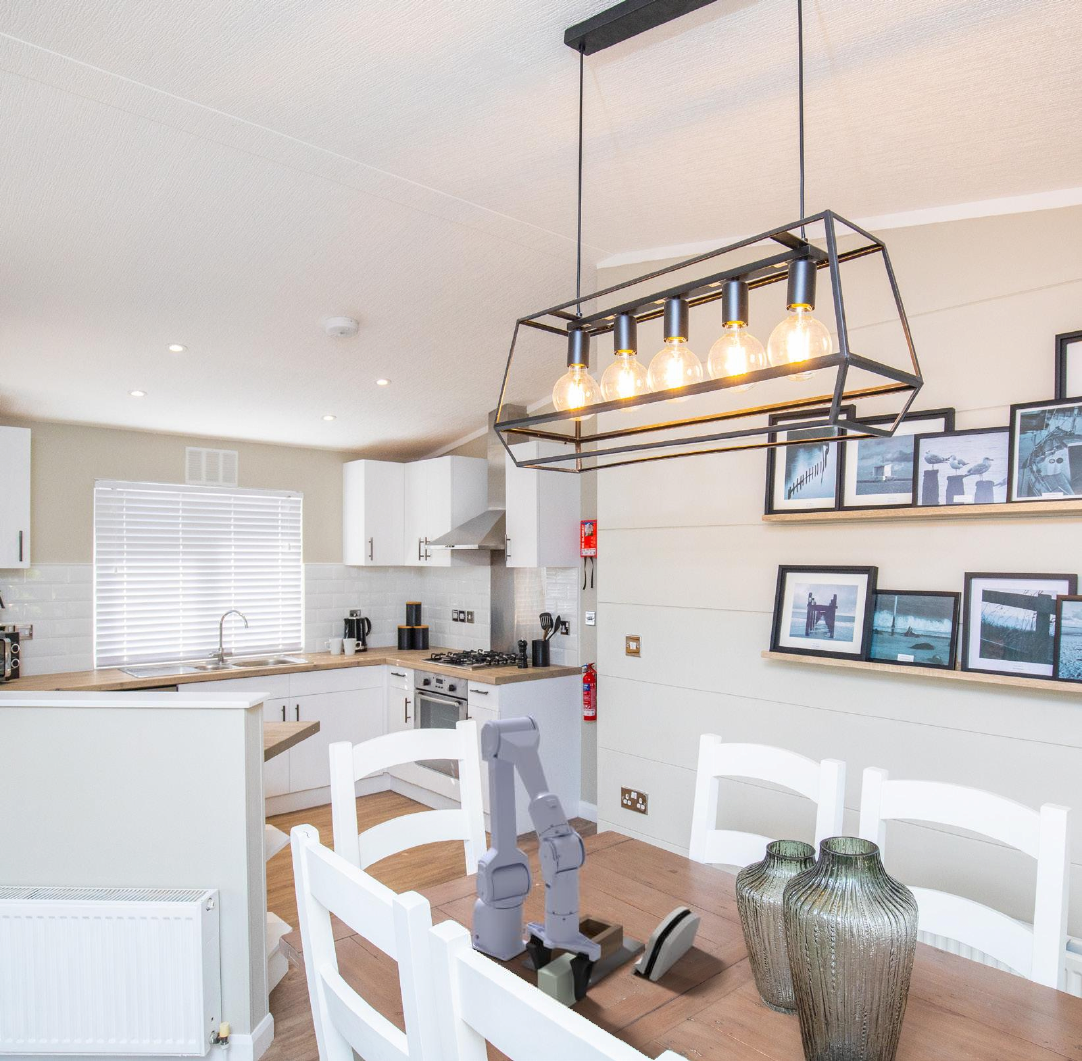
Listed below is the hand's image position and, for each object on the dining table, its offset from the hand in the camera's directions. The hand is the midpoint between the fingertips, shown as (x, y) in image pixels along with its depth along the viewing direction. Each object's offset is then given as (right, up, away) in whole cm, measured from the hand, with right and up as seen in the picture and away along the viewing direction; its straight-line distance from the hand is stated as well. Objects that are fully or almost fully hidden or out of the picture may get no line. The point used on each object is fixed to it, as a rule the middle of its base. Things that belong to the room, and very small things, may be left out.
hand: (562, 991), depth 134 cm
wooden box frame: (+5, -2, +15) cm, 16 cm away
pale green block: (0, -2, 0) cm, 2 cm away
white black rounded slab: (+20, -3, +14) cm, 25 cm away
